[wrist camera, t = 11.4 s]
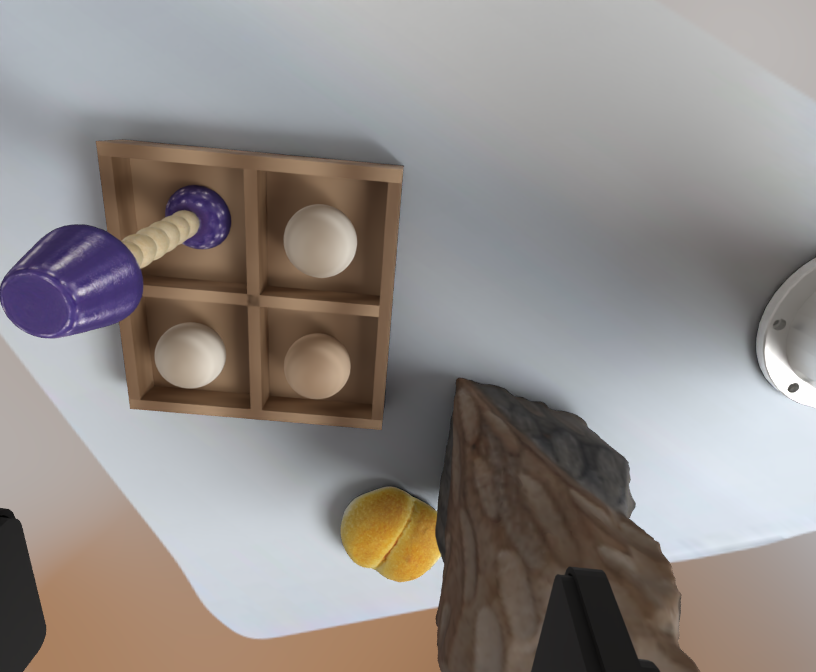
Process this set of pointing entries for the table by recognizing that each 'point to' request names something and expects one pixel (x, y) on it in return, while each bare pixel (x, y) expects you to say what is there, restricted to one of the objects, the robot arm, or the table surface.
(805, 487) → the table surface
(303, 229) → the egg
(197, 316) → the organizer
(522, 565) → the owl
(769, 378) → the robot arm
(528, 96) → the table surface
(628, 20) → the table surface
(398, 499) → the bread roll
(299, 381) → the egg
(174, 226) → the toy lamp
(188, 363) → the egg
